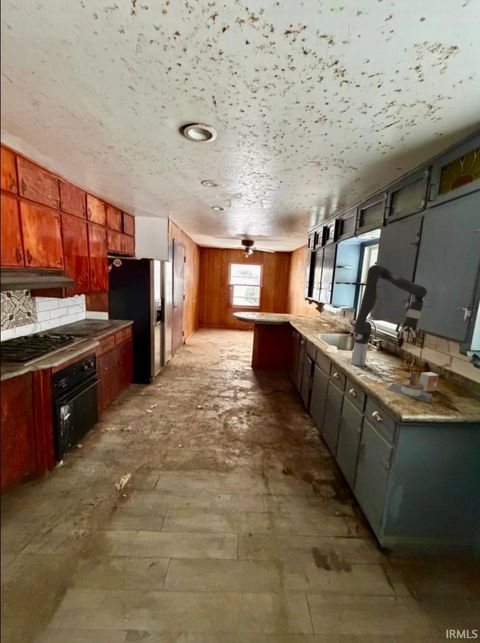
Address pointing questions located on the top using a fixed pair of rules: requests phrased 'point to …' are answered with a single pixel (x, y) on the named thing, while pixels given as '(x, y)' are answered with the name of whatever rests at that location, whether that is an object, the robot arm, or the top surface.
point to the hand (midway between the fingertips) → (405, 340)
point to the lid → (412, 383)
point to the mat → (397, 389)
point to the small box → (429, 381)
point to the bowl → (411, 391)
